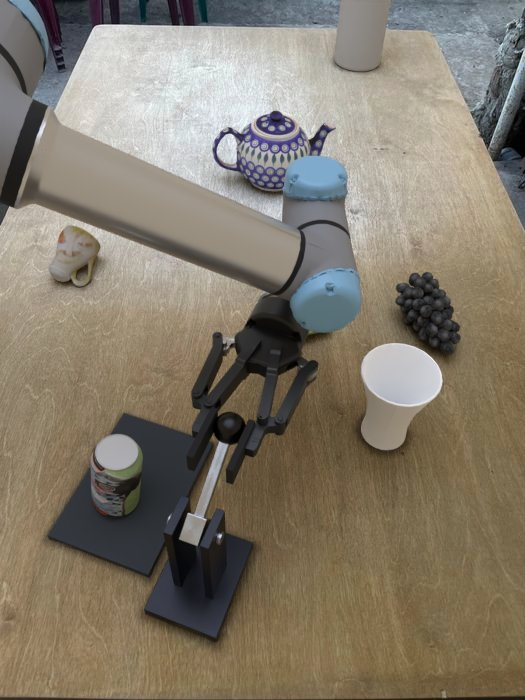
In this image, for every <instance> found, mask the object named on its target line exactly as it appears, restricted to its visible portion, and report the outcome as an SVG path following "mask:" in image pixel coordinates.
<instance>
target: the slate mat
mask: <svg viewBox="0 0 525 700" xmlns="http://www.w3.org/2000/svg"><path fill="white" fill-rule="evenodd" d="M113 434H122V435H126V436H128V437H130V438H132V439H133V440H134V441H135V442H136V443H137V445H138V446H139V447H140V449H141V451H142V455H143V462H142V474H141V485H140V497H139V502H138V504H137V506H136V507H135V509H134V510H133V511H132V512H130V513H129V514H127V515H125V516H122V517H117V518H111V517H107V516H104V515H102V514H100V513H99V512H98V511H97V510H96V509H95V508H94V506H93V503H92V496H91V465H90V466H89V468H88V469H87V471H86V473H85V474H84V476H83V478H82V479H81V481H80V482H79V484H78V486H77V487H76V489H75V490H74V492H73V493H72V495H71V496H70V498H69V500H68V501H67V503H66V505H65V506H64V508H63V510H62V511H61V513H60V514H59V516H58V517H57V519H56V521H55V522H54V524H53V526H52V527H51V529H50V530H49V532H48V534H47V535H46V537H47V538H48V539H49V540H52V541H54V542H58V543H60V544H63V545H64V546H66V547H67V546H68V547H70V548H73V549H75V550H78V551H81V552H83V553H85V554H88V555H90V556H94V557H96V558H98V559H100V560H104V561H106V562H109V563H111V564H114V565H117V566H118V567H122V568H124V569H126V570H129V571H132V572H135V573H137V574H140V575H142V576H145V577H147V578H149V577H150V576H151V574H152V572H153V570H154V568H155V566H156V564H157V562H158V560H159V558H160V555H161V554H162V552H163V549H164V547H165V546H166V544H165V539H164V535H163V531H164V529H165V527H166V525H167V520H168V517H169V515H170V514H171V513H173V511H174V509H175V507H176V505H177V503H178V501H179V499H180V497H181V495H182V496H185V497H187V498H189V496H190V494H191V492H192V490H193V488H194V485H195V484H196V482H197V480H198V478H199V475H200V474H201V472H202V470H203V468H204V465H205V463H206V461H207V460H208V458H209V455H210V453H211V452H212V449H213V447H214V442H213V441H211V440H210V441H209V443H208V445H207V447H206V449H205V451H204V453H203V455H202V457H201V459H200V461H199V463H198V465H197V467H196V469H195V471H192V470H189V469H188V466H187V458H186V455H187V453H188V451H189V449H190V447H191V445H192V444H193V442H194V440H195V438H193V437H192V434H189V433H186V432H183V431H181V430H177V429H174V428H171V427H168V426H165V425H162V424H159V423H156V422H153V421H150V420H147V419H145V418H141V417H138V416H136V415H132V414H129V413H126V412H123V414H122V415H121V417H120V419H119V420H118V422H117V423H116V425H115V426H114V428H113V430H112V431H111V433H110V434H109V435H113Z"/></svg>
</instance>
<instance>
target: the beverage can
mask: <svg viewBox="0 0 525 700" xmlns="http://www.w3.org/2000/svg"><path fill="white" fill-rule="evenodd" d="M142 462H143V455H142V451H141V449H140V447H139V446H138V445H137V443H136V442H135V441H134V440H133V439H132V438H130V437H128V436H126V435H122V434H113V435H110V434H108V435H107V436H105V437H103V438H102V439H101V440H100V441H99V442H98V443H97V444H96V445H95V446H94V448H93V449H92V451H91V454H90V466H91V496H92V503H93V506H94V508H95V509H96V510H97V511H98V512H99V513H100V514H102V515H104V516H107V517H111V518H117V517H122V516H125V515H127V514H129V513H130V512H132V511H133V510H134V509H135V507H136V506H137V504H138V502H139V497H140V485H141V474H142Z"/></svg>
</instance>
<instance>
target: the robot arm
mask: <svg viewBox="0 0 525 700" xmlns="http://www.w3.org/2000/svg"><path fill="white" fill-rule="evenodd" d="M49 47H50V46H49V37H48V33H47V29H46V26H45V23H44V21H43V19H42V17H41V15H40V13H39V12H38V10H37V9H36V7H35V6H34V4H32V2H31V1H30V0H0V204H2V205H5V206H6V207H10V208H12V209H16V210H20V209H22V208H26V207H27V206H30V205H36V206H39V207H42V208H43V209H44V208H45V209H47V210H49V211H51V212H55V213H57V214H60V215H62V216H66V217H68V218H71V219H73V220H76V221H79V222H81V223H83V224H87V225H89V226H92V227H94V228H97V229H100V230H102V231H104V232H107V233H110V234H113V235H115V236H118V237H121V238H124V239H126V240H128V241H132V242H133V243H136V244H138V245H141V246H144V247H147V248H149V249H152V250H155V251H157V252H160V253H163V254H166V255H167V256H170V257H172V258H176V259H179V260H181V261H183V262H187V263H189V264H191V265H195V266H197V267H199V268H202V269H204V270H207V271H210V272H213V273H216V274H218V275H220V276H223V277H226V278H228V279H231V280H233V281H236V282H239V283H241V284H244V285H246V286H250V287H253V288H254V289H257V290H260V291H262V292H261V294H260V296H259V298H258V299H257V302H256V304H255V305H254V307H253V309H252V311H251V313H250V315H249V316H248V318H247V320H246V322H245V325H244V326H243V328H242V329H241V330H240V331H238V332H237V333H236V334H235V335H234V336H223V333H222V332H220V331H215V332H213V333H212V339H211V342H212V343H211V344H212V346H211V349H210V351H209V353H208V355H207V357H206V359H205V361H204V363H203V366H202V368H201V369H200V372H199V373H198V376H197V378H196V380H195V382H194V385H193V386H192V388H191V391H190V397H191V407H192V408H194V409H195V410H199V411H198V413H197V416H196V417H195V419H194V421H193V423H192V425H191V435H192V437H193V438H195V440H194V442H193V444H192V445H191V447H190V449H189V451H188V453H187V455H186V458H187V466H188V469H189V470H192V471H195V469H196V467H197V465H198V463H199V461H200V459H201V457H202V455H203V453H204V451H205V449H206V447H207V445H208V443H209V441H210V442H211V439H212V437H213V436H214V432H213V425H214V422H215V420H216V418H217V417H218V416H219V411H220V410H221V409H222V408H223V406H224V405H225V404H226V403H227V402H228V400H229V399H230V398H231V396H232V395H233V394H234V392H235V391H236V390H237V388H239V386H240V385H241V383H242V382H243V381H246V379H247V378H248V377H249V376H250V374H254V375H259V376H260V377H263V378H264V382H263V387H262V392H261V397H260V402H259V406H258V411H257V413H256V420H254V419H250V418H248V420H247V422H246V426H245V428H244V431H243V433H242V435H241V437H240V439H239V441H238V443H237V444H236V446H235V448H234V450H233V451H232V452H233V453H232V455H231V456H230V458H229V461H228V463H227V465H226V467H225V483H226V484H230V485H234V483H235V482H236V479H237V477H238V474H239V472H240V470H241V467H242V466H243V463H244V461H245V459H246V457H249V458H252V459H253V458H255V457H256V456H257V455H258V453H259V450H260V448H261V445H262V443H263V441H264V439H265V437H266V436H267V435H269V434H275V435H276V436H278V437H281V436H283V435H284V434H285V432H286V430H287V428H288V426H289V425H290V423H291V420H292V418H293V417H294V414H295V413H296V410H297V408H298V406H299V404H300V402H301V399H302V397H303V395H304V394H305V391H306V389H307V388H308V387H309V386H310V385H311V384H313V383H314V382H315V381H316V380H317V377H318V372H319V362H318V361H317V360H315V359H311V360H308V359H307V358H305V357H304V356H303V348H304V345H305V343H306V340H307V338H308V336H309V335H308V334H309V331H312V332H319V333H321V334H322V333H323V334H328V333H333V332H337V331H340V330H342V329H344V328H346V327H347V326H349V325H350V324H351V323H352V322H353V321H355V319H356V318H357V317H358V315H359V314H360V312H361V309H362V304H363V303H362V302H363V300H362V299H363V298H362V289H361V276H360V274H359V272H358V268H357V267H358V266H357V262H356V257H355V254H354V249H353V245H352V239H351V232H350V227H349V222H348V217H347V213H346V198H347V195H348V194H349V193H348V192H349V190H348V179H349V175H348V172H347V169H346V167H344V166H343V164H342V163H340V162H339V161H338V160H336V159H334V158H331V157H328V156H324V155H320V156H305V157H301V158H298V159H296V160H295V161H293V162H292V163H291V164H290V165H289V166H288V168H287V170H286V174H285V182H284V187H283V188H282V210H281V211H282V213H281V220H279V219H276V218H274V217H272V216H270V215H268V214H265V213H263V212H261V211H258V210H257V209H254V208H252V207H250V206H247V205H245V204H243V203H240V202H238V201H236V200H233V199H231V198H229V197H227V196H226V195H222V194H221V193H218V192H217V191H213V190H211V189H209V188H207V187H205V186H202V185H200V184H198V183H195V182H193V181H191V180H190V179H189V180H188V179H186V178H184V177H181V176H180V175H177V174H176V173H173V172H170V171H169V170H166V169H164V168H161V167H159V166H156V165H155V164H153V163H150V162H148V161H145V160H143V159H141V158H139V157H136V156H135V155H132V154H130V153H128V152H125V151H124V150H121V149H119V148H116V147H114V146H112V145H109V144H107V143H105V142H103V141H101V140H98V139H96V138H94V137H91V136H89V135H87V134H86V133H85V134H84V133H82V132H80V131H78V130H75V129H74V128H71V127H69V126H67V125H64V124H62V122H60V120H59V118H58V116H57V114H56V112H55V110H54V109H53V107H52V106H50V105H48V104H45V103H43V102H41V101H39V100H36V99H35V98H33V96H34V93H35V91H36V89H37V87H38V85H39V82H40V80H41V77H42V76H43V74H44V73H45V72H46V69H47V68H46V67H47V65H48V56H49ZM319 333H318V334H319ZM232 349H235V352H236V355H237V356H236V357H235V360H234V362H233V364H232V365H231V366H230V368H229V369H227V371H226V372H225V373H224V375H223V376H222V377H221V378H220V379H219V381H218V382H217V383H216V384H215V386H214V387H213V388H212V386H213V385H214V382H215V380H216V378H217V375H218V374H219V371H220V369H221V367H222V364H223V361H224V357H227V356H228V354H229V353H230V351H231V350H232ZM295 368H296V373H295V376H294V379H293V381H292V382H291V385H290V387H289V388H288V390H287V393H286V394H285V397H284V399H283V401H282V403H281V405H280V406H279V409H278V411H277V412H276V414H275V416H271V415H272V410H273V404H274V398H275V394H276V389H277V386H278V379H279V376H281V375H283V374H285V373H287V372H289V371H290V370H293V369H295ZM211 389H212V390H211Z"/></svg>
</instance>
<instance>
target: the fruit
mask: <svg viewBox="0 0 525 700" xmlns="http://www.w3.org/2000/svg"><path fill="white" fill-rule="evenodd" d="M395 290H396V292H397V293H398V294H400V295H397V297H396V298H395V301H394V302H395V304H396V306H399V307H400V309H399V310H400V312H401V313H402V314H403V316H402V321H403V323H404V324H405V325H411V324H412V329H413V330H414V331H415V332H418V334H417V336H418V338H419V339H420V340H421V341H428V345H429V346H430V347H431V348H434V349H437V348H438V350H439V351H440V352H441V353H444V354H445V355H447V356H451V355H453V354H454V353H455V351H456V348H455V345H457V344H459V343H460V341H461V334H460V333H458V332H460V331H461V330H460V329H461V325H460V323H458V322H457V321H456V320H455V321H454V320H453V319H452V318H453V314H454V313H455V308H454V306H452V300H451V298H450V297H448V296H447V292H446V290H445V289H440V284H439V280H438V279H437V278H434V275H433V274H432V273H431V272H430V271H425V272H423V273H422V274H420V273H418V272H412V273H411V274H409V278H408V282H400V283H397V284H396V286H395Z"/></svg>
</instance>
